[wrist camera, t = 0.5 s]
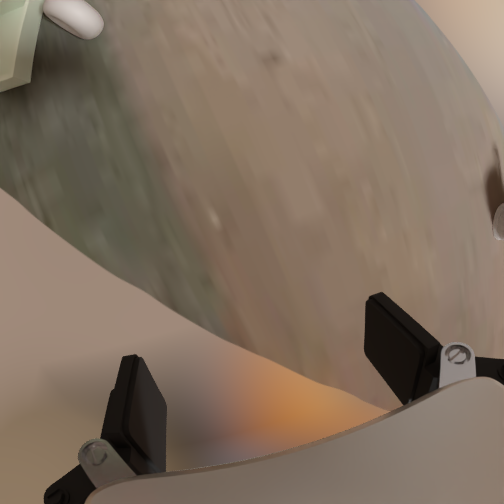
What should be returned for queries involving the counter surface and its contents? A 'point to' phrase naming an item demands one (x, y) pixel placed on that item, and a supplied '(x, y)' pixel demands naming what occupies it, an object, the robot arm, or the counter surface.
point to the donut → (75, 17)
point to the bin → (18, 40)
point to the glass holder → (499, 223)
